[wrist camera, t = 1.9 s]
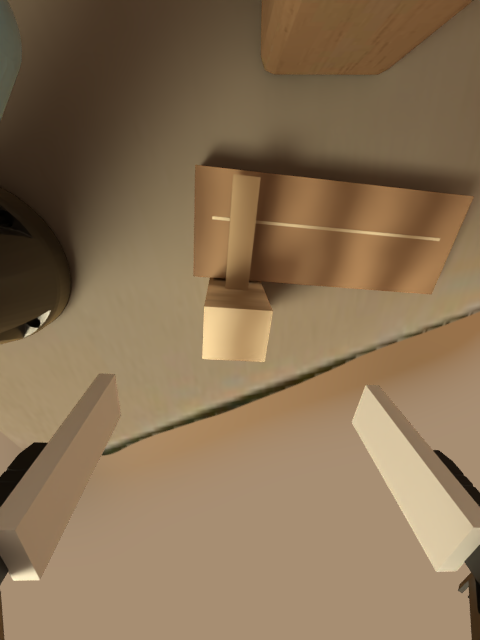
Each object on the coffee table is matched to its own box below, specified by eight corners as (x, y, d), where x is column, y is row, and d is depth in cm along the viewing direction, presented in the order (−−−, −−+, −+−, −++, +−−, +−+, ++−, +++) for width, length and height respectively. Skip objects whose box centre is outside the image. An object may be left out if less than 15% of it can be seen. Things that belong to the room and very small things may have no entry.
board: (196, 269, 26) (193, 276, 24) (198, 168, 22) (195, 164, 20) (414, 286, 28) (431, 294, 26) (450, 196, 24) (474, 196, 22)
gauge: (209, 315, 28) (202, 362, 20) (215, 176, 23) (209, 164, 14) (253, 318, 29) (264, 365, 21) (270, 182, 23) (294, 174, 15)
